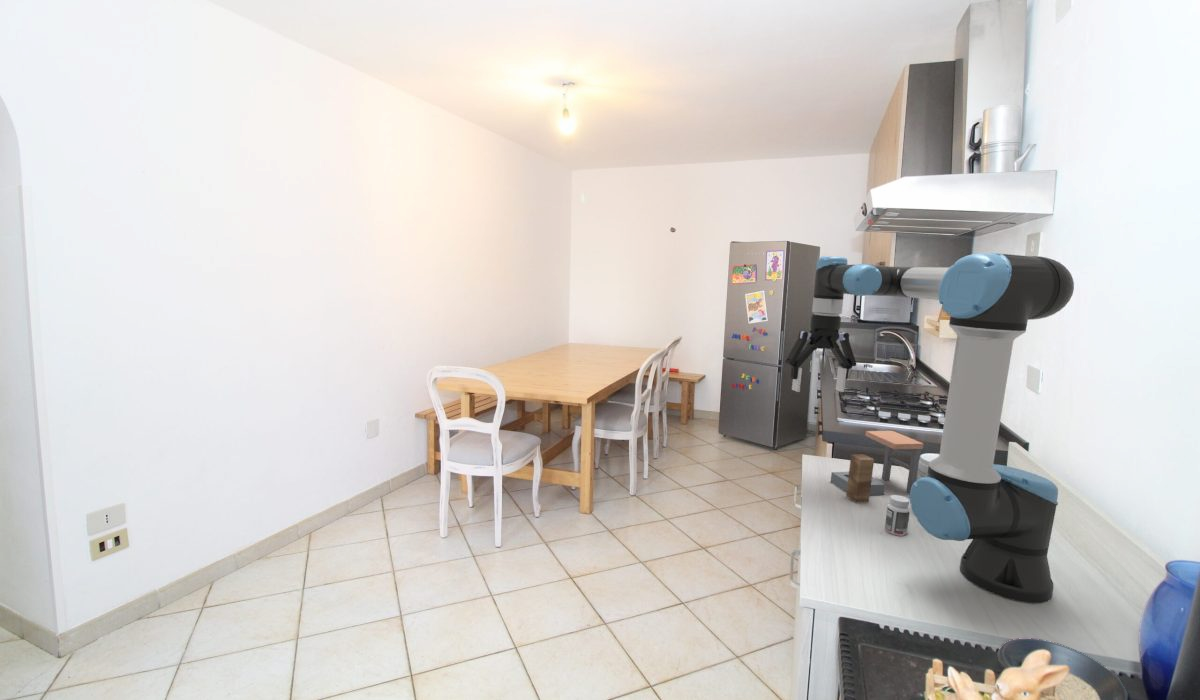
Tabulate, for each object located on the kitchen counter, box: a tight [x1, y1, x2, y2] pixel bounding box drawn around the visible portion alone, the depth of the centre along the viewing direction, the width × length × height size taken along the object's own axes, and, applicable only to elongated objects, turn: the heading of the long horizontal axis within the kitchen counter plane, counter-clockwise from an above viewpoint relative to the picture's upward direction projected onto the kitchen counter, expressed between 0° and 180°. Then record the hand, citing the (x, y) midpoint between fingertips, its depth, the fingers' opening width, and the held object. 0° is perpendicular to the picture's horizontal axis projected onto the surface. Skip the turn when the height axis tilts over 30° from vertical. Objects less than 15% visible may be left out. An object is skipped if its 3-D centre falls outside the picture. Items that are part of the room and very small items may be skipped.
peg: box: [845, 453, 875, 504], centre depth 148 cm, size 4×4×12 cm
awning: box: [865, 430, 924, 495], centre depth 157 cm, size 12×9×15 cm
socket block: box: [830, 471, 886, 496], centre depth 156 cm, size 10×10×3 cm
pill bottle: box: [884, 494, 911, 537], centre depth 130 cm, size 5×5×8 cm
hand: (817, 390), depth 151 cm, fingers open, 13 cm apart
